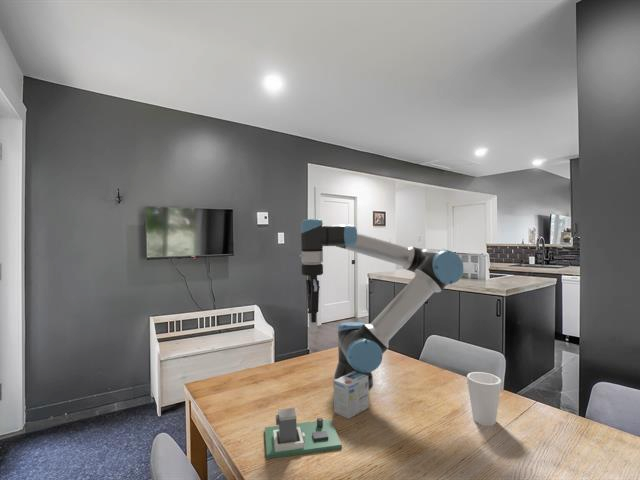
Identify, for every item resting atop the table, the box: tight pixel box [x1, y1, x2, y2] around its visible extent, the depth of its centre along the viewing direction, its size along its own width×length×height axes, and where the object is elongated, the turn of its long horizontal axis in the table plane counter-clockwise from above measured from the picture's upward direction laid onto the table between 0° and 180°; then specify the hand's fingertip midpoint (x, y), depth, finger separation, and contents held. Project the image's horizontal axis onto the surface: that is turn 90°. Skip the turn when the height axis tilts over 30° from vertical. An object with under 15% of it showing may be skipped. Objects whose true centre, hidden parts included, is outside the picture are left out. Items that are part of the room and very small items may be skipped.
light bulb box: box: [333, 371, 370, 420], centre depth 111 cm, size 11×7×11 cm, turn 134°
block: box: [275, 407, 297, 444], centre depth 92 cm, size 5×4×8 cm
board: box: [264, 417, 342, 460], centre depth 95 cm, size 20×13×3 cm, turn 101°
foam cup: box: [466, 371, 502, 427], centre depth 104 cm, size 10×9×13 cm
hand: (313, 330), depth 117 cm, fingers closed
